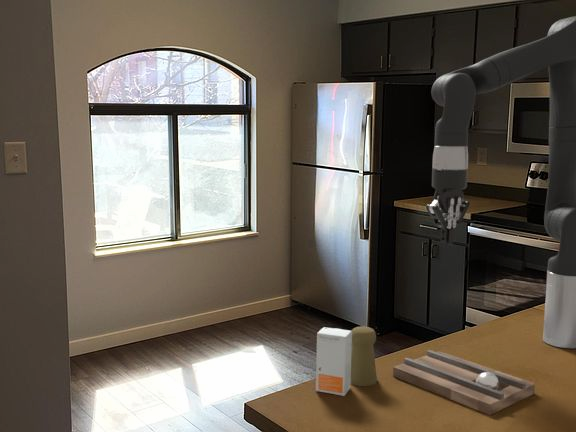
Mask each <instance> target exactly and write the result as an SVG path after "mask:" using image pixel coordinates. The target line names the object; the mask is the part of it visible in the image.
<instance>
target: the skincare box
mask: <svg viewBox="0 0 576 432" xmlns="http://www.w3.org/2000/svg"><path fill="white" fill-rule="evenodd" d="M352 346H353V343H352V330H351V329H350V330H348V329H342V328H336V327H335V328H334V327H325V326H323V327H322V328H320V330H319V331H318V332H317V333H316V360H315V361H316V363H315V364H316V366H315V391H316V392H321V393H327V394H333V395H337V396H341V397H345V396H346V395H347V393H348V392H349V391H350V389H351V386H352V384H351V353H352Z"/></svg>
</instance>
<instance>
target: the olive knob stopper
mask: <svg viewBox="0 0 576 432" xmlns="http://www.w3.org/2000/svg"><path fill="white" fill-rule="evenodd" d="M351 331H352V348H351V385H353V386H357V387H358V386H359V387H370V386H373V385H374V386H375V385H376V383H377V382H378V378H377V377H378V376H377V368H376V359H375V350H374V344H375V343H376V341H377V333H376V331H375V329H374V328H371V327H369V326H362V325H361V326H356V327H354V328H352V329H351Z"/></svg>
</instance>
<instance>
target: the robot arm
mask: <svg viewBox="0 0 576 432" xmlns="http://www.w3.org/2000/svg"><path fill="white" fill-rule="evenodd" d="M546 68H548V80H549V119H548V120H549V121H548V179H547V191H546V199H545V207H544V215H543V221H544V223H543V224H544V228H545V231H546V233H547V234H548V236H549V237H550V238H552V239H554V240H556V241H558V242H559V246H558V252H557V254H556V255H555V256H551V257H550V258H549V259H548V261H547V271H546V290H545V304H544V315H543V316H544V319H543V332H542V341H543V342H544V343H546V344H548V345H550V346H552V347H556V348H557V347H558V348H562V349H563V348H564V349H576V15H575V16H570V17H567V18H566V17H565V18H561V19H559V20H557V21H555V22H554V23H553V24H552V25H551V26H550V28H549V30H548V32H547V34H546V36H545V37H543V38H540V39H537V40H535V41H532V42H531V41H530V42H529V43H526V44H523V45H519V46H516V47H513V48H509V49H507V50H505V51H501V52H498V53H495V54H494V55H491V56H489V57H486V58H484V59H482V60H480V61H478V62H476V63H474V64H471V65H469V66H466V67H463V68H459V69H456V70H454V71H451V72H449V73H445V74H442V75H441V76H440V77H438V78H437V79H436V80H435V81H434V82H433V85H431V86H432V87H431V91H430V93H431V98H432V100H433V101H434V102H435V103H436V104H437V105H438V106H441V107H443V111H442V116H441V118H440V119H439V120H437V122H436V123H435V128H434V129H435V130H434V148H433V153H432V168H431V170H432V171H431V187H432V188H433V189H434V190H435V191H434V194H433V195H434V196H433V201H432V202H431V204H426V207H425V208H426V211H427V213H428V214H429V217H430V218H431V220H432V222H433V225H434V226H436V227H439V228H440V243H441V245H443V246H451V245H453V244H454V239H455V238H454V237H455V236H454V235H455V228H456V227H457V225H461V223H462V221H463V219H464V217H465V216H466V213H467V211H468V209H469V207H470V204H471V202H470V201H468V200H465V198H464V191H463V190H465V189H466V188H467V187H468V170H469V169H468V167H469V152H468V149H469V148H468V144H469V143H468V141H469V125H470V122H471V119H472V115H473V111H474V109H475V108H474V107H475V103H476V97H477V96H476V95H480V94H487V93H489V92H493V91H496V90H498V89H500V88H503V87H505V86H507V85H510V84H512V83H514V82H516V81H519V80H520V79H523V78H525V77H528V76H529V75H532V74H534V73H537V72H538V71H540V70H543V69H546Z"/></svg>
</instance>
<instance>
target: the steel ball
mask: <svg viewBox="0 0 576 432" xmlns="http://www.w3.org/2000/svg"><path fill="white" fill-rule="evenodd" d="M475 383H478V384H481V385H483V386H486V387H489V388H491V389H494V390H497V391H498V389H499V380H498V378H497V377H496V376H495V375H494V374H493V373H490V372H483V373H481V374H479V375H478V376H477V378H476V382H475Z"/></svg>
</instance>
